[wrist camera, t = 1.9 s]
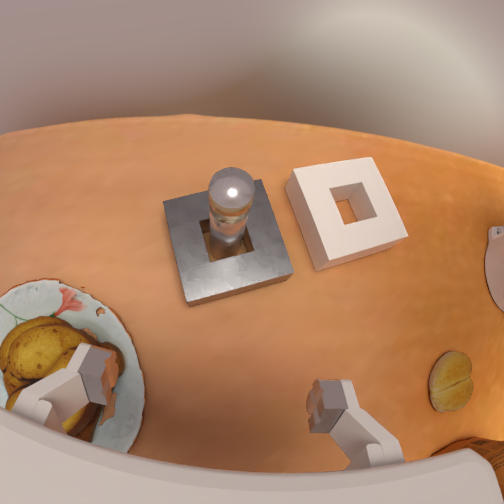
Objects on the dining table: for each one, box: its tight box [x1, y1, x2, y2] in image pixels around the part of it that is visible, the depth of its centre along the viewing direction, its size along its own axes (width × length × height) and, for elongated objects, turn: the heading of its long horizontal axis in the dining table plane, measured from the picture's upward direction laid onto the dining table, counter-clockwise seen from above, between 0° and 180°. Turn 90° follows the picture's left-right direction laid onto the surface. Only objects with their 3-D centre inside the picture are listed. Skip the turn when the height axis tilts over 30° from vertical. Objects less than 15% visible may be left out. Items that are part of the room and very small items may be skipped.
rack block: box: [285, 157, 408, 271], centre depth 40 cm, size 12×12×5 cm
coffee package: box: [432, 437, 504, 501], centre depth 22 cm, size 10×12×22 cm
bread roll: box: [429, 351, 473, 413], centre depth 35 cm, size 8×9×4 cm
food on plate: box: [0, 278, 147, 453], centre depth 28 cm, size 25×25×7 cm
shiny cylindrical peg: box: [209, 167, 255, 260], centre depth 32 cm, size 4×4×15 cm
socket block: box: [163, 179, 294, 307], centre depth 37 cm, size 12×12×4 cm
